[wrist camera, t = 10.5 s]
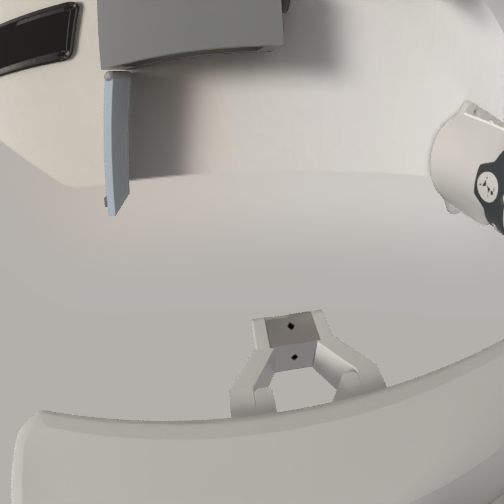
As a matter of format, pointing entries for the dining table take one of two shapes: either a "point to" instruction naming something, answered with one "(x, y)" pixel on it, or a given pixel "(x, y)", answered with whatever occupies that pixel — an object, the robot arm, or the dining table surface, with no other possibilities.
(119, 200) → the side door
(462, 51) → the dining table surface
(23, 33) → the phone
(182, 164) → the dining table surface
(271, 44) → the box
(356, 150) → the dining table surface
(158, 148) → the dining table surface
